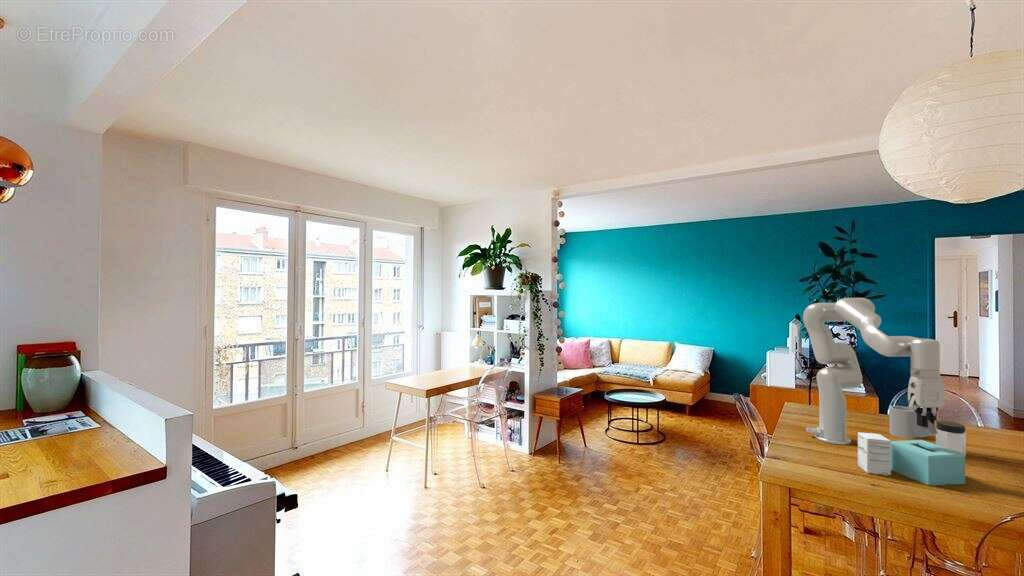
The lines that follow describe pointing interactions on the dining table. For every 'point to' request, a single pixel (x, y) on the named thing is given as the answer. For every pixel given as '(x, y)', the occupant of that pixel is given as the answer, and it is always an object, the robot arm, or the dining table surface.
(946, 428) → the jar
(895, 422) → the cup
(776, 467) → the dining table surface
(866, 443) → the supplement box
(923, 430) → the grey metal block
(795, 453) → the dining table surface
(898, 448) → the coin box
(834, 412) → the robot arm
